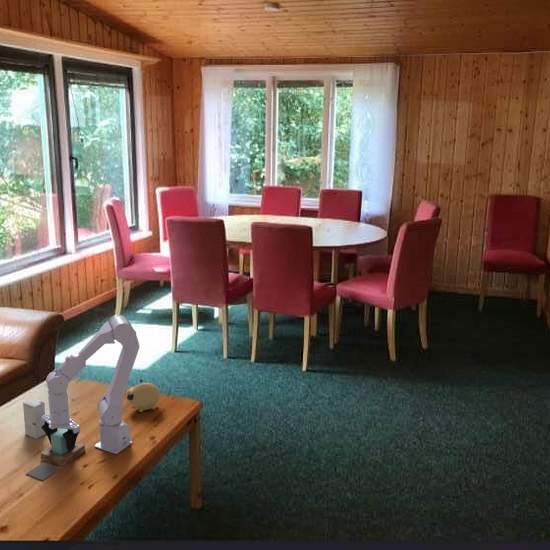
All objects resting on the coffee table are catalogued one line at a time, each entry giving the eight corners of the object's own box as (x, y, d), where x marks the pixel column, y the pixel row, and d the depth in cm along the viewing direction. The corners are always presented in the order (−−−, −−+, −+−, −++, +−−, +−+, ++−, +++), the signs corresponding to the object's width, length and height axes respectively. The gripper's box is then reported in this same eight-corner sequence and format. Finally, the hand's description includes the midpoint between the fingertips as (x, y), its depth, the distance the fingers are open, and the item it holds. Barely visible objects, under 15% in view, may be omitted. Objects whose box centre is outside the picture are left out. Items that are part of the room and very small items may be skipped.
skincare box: (24, 434, 201) (21, 402, 198) (35, 428, 205) (32, 397, 201) (37, 439, 198) (33, 407, 195) (47, 433, 202) (44, 401, 198)
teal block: (73, 452, 191) (71, 430, 189) (62, 460, 187) (60, 438, 184) (64, 449, 193) (62, 427, 190) (52, 457, 188) (50, 435, 186)
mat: (60, 468, 182) (60, 467, 182) (42, 481, 176) (42, 480, 176) (44, 462, 185) (44, 461, 185) (26, 474, 179) (26, 473, 179)
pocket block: (85, 450, 192) (84, 445, 191) (61, 466, 183) (61, 460, 183) (64, 443, 196) (64, 437, 195) (40, 459, 187) (40, 452, 187)
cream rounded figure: (129, 402, 223) (128, 377, 221) (161, 402, 224) (160, 376, 221) (124, 416, 214) (123, 389, 211) (158, 415, 215) (157, 388, 212)
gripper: (32, 408, 185) (36, 446, 188) (66, 419, 179) (70, 459, 182) (49, 399, 191) (53, 436, 194) (83, 409, 185) (86, 447, 188)
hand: (62, 446), depth 189 cm, fingers open, 7 cm apart
